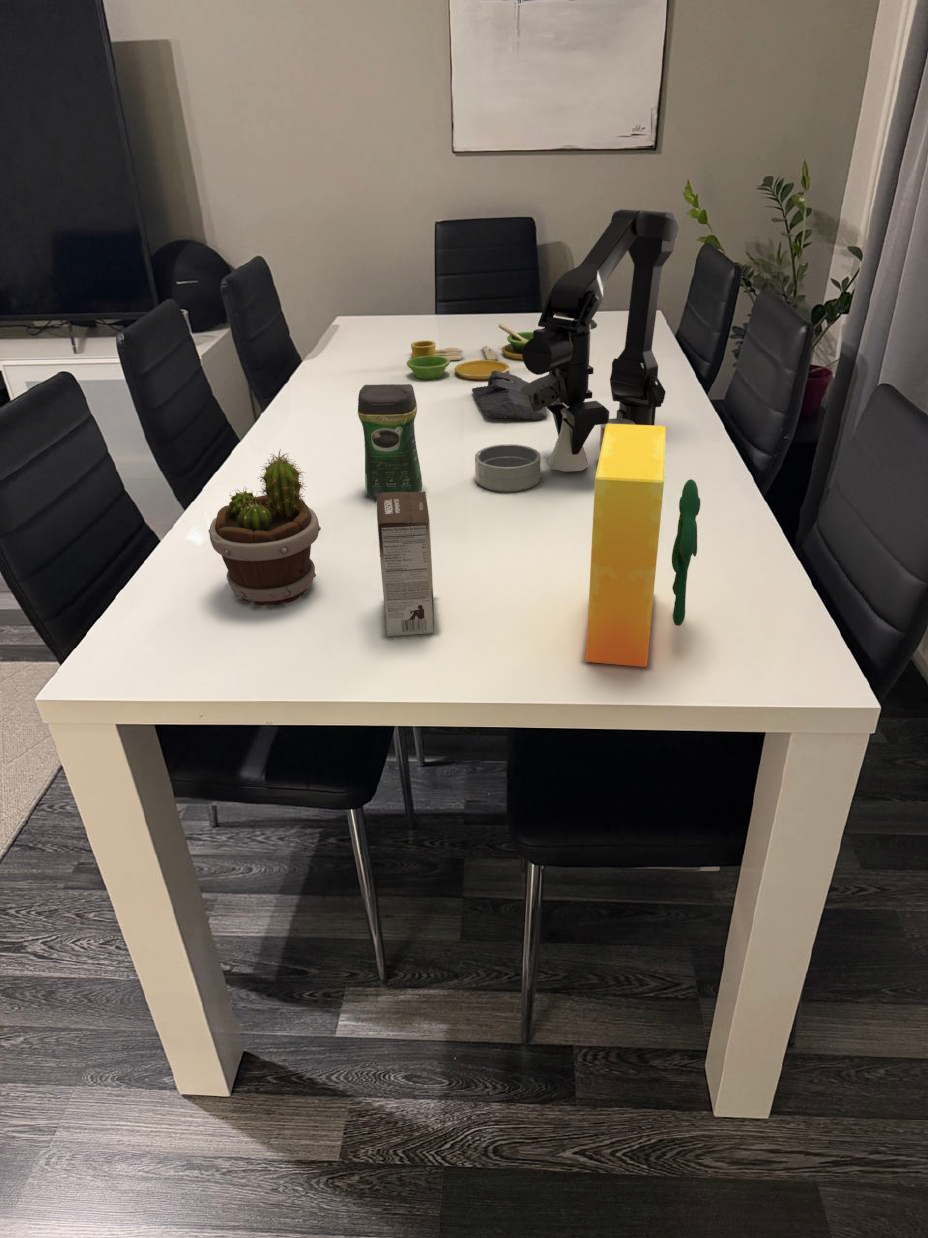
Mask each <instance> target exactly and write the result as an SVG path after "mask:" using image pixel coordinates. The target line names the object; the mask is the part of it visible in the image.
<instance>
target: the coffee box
mask: <svg viewBox="0 0 928 1238" xmlns="http://www.w3.org/2000/svg"><path fill="white" fill-rule="evenodd" d="M375 500H376V519H377V536H378V546H379V548H378V549H379V560H380V573H381V583H382V595H383V605H384V606H383V607H384V616H385V626H386V627H385V628H386V635H387V637H394V636H396V637H397V636H410V635H411V636H412V635H428V634H434V633H435V632H436V631H435V630H436V629H435V607H434V603H435V602H434V584H433V561H432V543H431V542H432V541H431V524H430V521H431V520H430V513H429V506H428V499H427V493H426V491H425V490H424V491H423V490H422V491H420V492H390V493H379V494H377V495H376V499H375Z"/></svg>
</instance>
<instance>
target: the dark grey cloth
mask: <svg viewBox="0 0 928 1238" xmlns="http://www.w3.org/2000/svg"><path fill="white" fill-rule="evenodd" d="M528 383H529V382H528V381H526V380H523V379H522V378H521V377H519V376H517V375H515V374H510V373H507V372H506V373H502V372H499V371H492V373H491V376H490V377H489V378H488V379H487V385H483V386H477V387H472V389H471V392H472V395H473V396H474V399H475V400H476V402H477V403H478V405H479V406H480V408H481V409H482V411H483V413H484V414H485V415H486V416H487V417H489V418H496V419H519V420H520V419H521V420H532V421H533V420H534V421H535V420H543V419H546V418H547V417H548V413H547V408H546V407H543V408H542V409H541V410H539V411H532V410H531V408H530V407H528V406H526V403H525V400H524V397H523V395H522V392H521V388H522V387H523V386H524V385H526V384H528Z"/></svg>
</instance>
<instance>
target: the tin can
mask: <svg viewBox="0 0 928 1238" xmlns="http://www.w3.org/2000/svg"><path fill="white" fill-rule="evenodd" d="M607 424H629V425H635V423H634V422H633V421H631V420H627V419H621V418H616V417H615V418H614V417H613V418H609V422H608V423H607ZM607 424H601V425H600V430H599V431H600V432H599V433H600V434H599V453H598V458H599V457H600V452H601V447H602V442H603V437H604V432H605V427H606V425H607Z"/></svg>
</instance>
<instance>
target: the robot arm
mask: <svg viewBox="0 0 928 1238" xmlns="http://www.w3.org/2000/svg"><path fill="white" fill-rule="evenodd" d="M679 225H680V224H679V221H678V220H677V219H676V217H675V215H674V213H673V212H670V211H658V210H645V209H643V210H642V209H624V208H621V209H619V210H615V211H614V212H613V214H612V216H611V219H610V223H609V224H608V225H607V227H606V228H605V229H604V231H603V232H602V234H601V235H600V237H599V238H598V240H596V242H595V244H594V245H593V246H592V248H591V249H590V250H589V252H588V253H587V255H586V256H585V257H584V259H583V260H582V261H581V263H580V264H579V265H578V266H577V267H575V268H572V269H570V270H568V271H566V272H565V273H563V275H561V276H560V277H559V278H558V279H557V280H556V281H555V282H554V284H553V286H552V287H551V290H550V292H549V294H548V296H547V299H546V302H545V304H544V307H543V309H542V312H541V315H540V318H539V320H538V322H537V326H538V328H537V329H536V328H535V329H534V330H533V331H532V332H533V338H532V339H530V340H529V341H528V342H527V343H526V344H525V346H524V349H523V351H522V357H523V359H522V362H523V364H524V366H525V368H526V369H527V370H528V371H529V372H530V373H532V374H533V375H536V376H541V377H539V378H536V379H534V380H531V382H528V384H526V385H524V386H523V387H522V388H521V392H522V395H523V397H524V400H525V403H526V406H528V407H530V408H531V410H532V411H539V410H541V409H542V408H543V407H546V410H548V411H549V412H550V413H551V414H552V417H553V421H554V425H555V428H556V433H557V436H559V434H560V431H561V426H562V421H564V422H565V423H566V424H567V425H568V426H569V433H570V443H571V451H572V454H573V455H576V454H579V452H580V450H581V448H582V446H583V447H584V444H585V443H586V441H587V439H588V437H589V435H590V434H591V432H592V431H593V429H594V428H595V426H601V424H607V423H608V422H609V419H610V410H609V409H608V408H607V407H606V406H605V405H603V404H602V403H601V402H599V401H597V400H590V401H589V400H588V399H593V391H591V389H589V378H590V376H589V375H594V367H593V366H591V365H590V357H591V355H590V354H591V352H590V351H591V334H592V333H591V331H592V330H595V329H596V328H597V327H598V323H597V322H596V321H595V320H594V319H593V318H594V317H595V315H596V313H597V311H598V310H599V308H600V307H601V306H600V305H601V304H602V302H603V300H604V286H605V285H606V283H607V281H608V280H609V278H610V276H611V275H612V274H613V272H614V271H615V269H616V268H617V267H618V265H619V264H620V262H621V261H622V259H623V258H624V256H625V255H626V254H627V253H628V254H629V256H630V259H631V261H632V264H633V273H632V281H631V291H630V299H629V306H628V315H627V316H628V317H627V325H626V333H625V341H624V348H623V350H622V352H621V353H620V354H619V356H618V357H616V358H614V359H613V360H612V362H611V373H610V377H609V384H610V391H611V398H612V401H613V402H619V403H618V404H619V405H618V406H619V407H618V409H617V410H616V417H615V418H621V419H627V420H631V421H633V422H634V423H635V425H654V426H655V423H656V422H655V421H656V411H657V408H661V407H662V404H663V403H664V402H665V397H666V392H667V391H666V389H665V388H664V386H663V385H662V383H661V381H660V379H659V364H658V361H657V359H656V357H655V355H654V352H653V350H652V349H653V341H654V333H655V325H656V317H657V310H658V303H659V302H658V301H659V296H660V295H659V294H660V285H661V278H662V270H663V266H664V264H665V263H666V262H667V260H668V259H669V258H670V257H671V255H672V254H673V252H674V250H675V245H676V240H677V238H678V237H679V231H680V226H679ZM554 316H556V317H554ZM539 327H540V328H539ZM547 373H548V374H547ZM544 374H546V375H544ZM542 375H544V376H542ZM586 400H588V401H586ZM564 408H568V409H567V411H566V417H567V418H563V415H562V413H561V410H562V409H564Z"/></svg>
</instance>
